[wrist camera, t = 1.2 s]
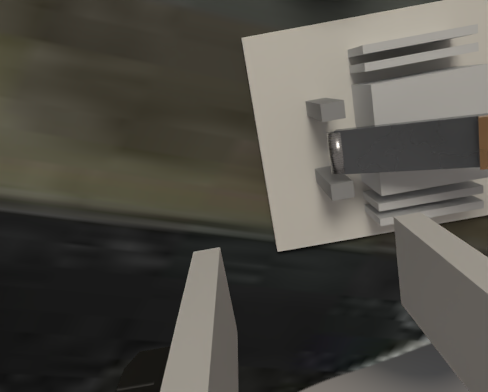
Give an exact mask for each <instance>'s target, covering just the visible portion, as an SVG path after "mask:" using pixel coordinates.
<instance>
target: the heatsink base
mask: <svg viewBox="0 0 488 392" xmlns="http://www.w3.org/2000/svg"><path fill="white" fill-rule="evenodd" d="M241 40H242V46H243V52H244V58H245V64H246V69H247V75H248V81H249V87H250V93H251V99H252V105H253V111H254V117H255V123H256V129H257V135H258V141H259V147H260V152H261V158H262V164H263V170H264V176H265V182H266V188H267V194H268V200H269V206H270V212H271V218H272V224H273V229H274V235H275V241H276V247H277V251H278V252H280V251H286V250H291V249H297V248H303V247H308V246H314V245H320V244H326V243H331V242H337V241H343V240H348V239H354V238H360V237H366V236H371V235H377V234H383V233H388V232H394V231H395V229H394V218H393V217H395V216H401V215H406V214H412V213H418V212H421V213H422V214H424V215H425V216H427V217H428V218H430V219H431V220H433V221H434V222H436V223H437V224H440V223H446V222H451V221H457V220H463V219H469V218H474V217H480V216H486V215H488V169H485V170H480V167H474V168H455V169H436V170H417V171H398V172H379V173H360V174H341V175H339V174H332V172H331V164H330V156H329V148H328V140H327V133H328V132H331V131H335V130H337V129H345V128H354V127H364V126H373V125H382V124H391V123H401V122H410V121H419V120H428V119H438V118H447V117H456V116H466V115H475V114H484V113H488V0H443V1H438V2H432V3H427V4H422V5H416V6H411V7H405V8H400V9H395V10H389V11H384V12H378V13H373V14H368V15H362V16H357V17H352V18H346V19H341V20H335V21H330V22H325V23H319V24H314V25H309V26H303V27H298V28H292V29H287V30H282V31H276V32H271V33H266V34H260V35H255V36H249V37H244V38H242V39H241Z"/></svg>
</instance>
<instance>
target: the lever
mask: <svg viewBox="0 0 488 392" xmlns="http://www.w3.org/2000/svg"><path fill="white" fill-rule="evenodd" d="M327 140H328V148H329V156H330V164H331V172H332V174H339V175H341V174H360V173H379V172H398V171H417V170H436V169H455V168H474V167H480V170H485V169H488V113H484V114H475V115H466V116H456V117H447V118H438V119H428V120H419V121H410V122H401V123H391V124H382V125H373V126H364V127H354V128H345V129H337V130H335V131H331V132H328V133H327Z"/></svg>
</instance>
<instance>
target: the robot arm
mask: <svg viewBox="0 0 488 392" xmlns="http://www.w3.org/2000/svg"><path fill="white" fill-rule="evenodd" d="M393 218H394V229H395V240H396V251H397V262H398V272H399V283H400V294H401V304H402V305H403V306H404V308H405V309H406V310H407V312H408V313H409V314H410V315H411V317H412V318H413V319H414V321H415V322H416V323H417V325H418V326H419V327H420V328H421V330H422V331H423V332H424V334H425V335H426V336H427V337H428V339H429V340H430V341H431V343H432V344H433V345H434V346H435V348H436V349H437V350H438V352H439V353H440V354H441V356H442V357H443V358H444V359H445V361H446V362H447V363H448V365H449V366H450V367H451V368H452V370H453V371H454V372H455V374H456V375H457V376H458V378H459V379H460V380H461V381H462V383H463V384H464V385H465V387H466V388H467V389H468V391H469V392H488V257H486V256H485V255H483V254H482V253H480V252H479V251H477V250H476V249H474V248H473V247H471V246H470V245H469V244H467V243H466V242H464V241H463V240H461V239H460V238H458V237H457V236H455V235H454V234H452V233H451V232H449V231H448V230H446V229H445V228H443V227H442V226H440V225H439V224H437V223H436V222H434V221H433V220H431V219H430V218H428V217H427V216H425V215H424V214H422V213H421V212H418V213H412V214H406V215H401V216H395V217H393ZM117 392H238V344H237V328H236V323H235V318H234V313H233V308H232V304H231V299H230V294H229V289H228V284H227V279H226V274H225V269H224V265H223V260H222V255H221V250H220V247H219V248H213V249H208V250H202V251H196V252H193V256H192V260H191V265H190V269H189V273H188V277H187V281H186V285H185V289H184V294H183V298H182V302H181V306H180V310H179V314H178V319H177V323H176V327H175V331H174V335H173V339H172V344H171V347H165V348H159V349H153V350H147V351H142V352H139V353H138V354H137V355H136V357H135V358H134V359H133V360H132V361H131V362H130V363H129V364H128V365H127V367H126V368H125V369H124V371H123V374H122V376H121V379H120V381H119V384H118V386H117Z"/></svg>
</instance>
